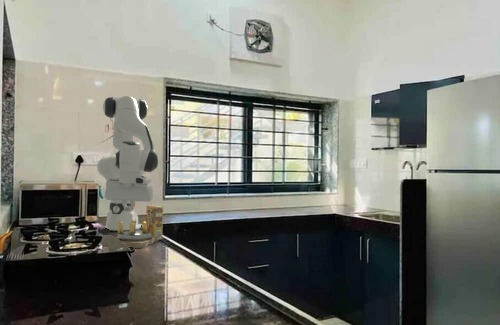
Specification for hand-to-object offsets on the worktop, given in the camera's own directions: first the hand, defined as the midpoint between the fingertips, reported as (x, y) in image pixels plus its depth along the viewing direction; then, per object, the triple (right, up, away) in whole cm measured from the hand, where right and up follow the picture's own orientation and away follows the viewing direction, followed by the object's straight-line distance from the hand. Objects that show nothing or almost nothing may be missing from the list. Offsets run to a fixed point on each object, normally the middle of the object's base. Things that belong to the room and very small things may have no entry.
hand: (128, 211), depth 165 cm
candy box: (+7, -15, +17) cm, 24 cm away
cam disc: (+1, -12, +4) cm, 13 cm away
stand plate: (0, -15, +4) cm, 15 cm away
